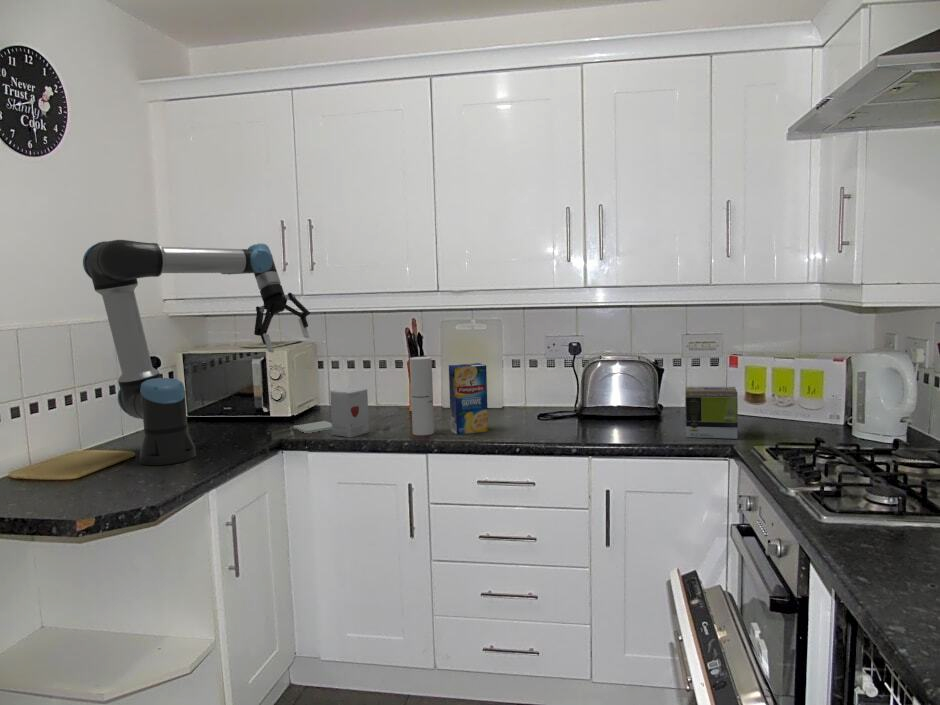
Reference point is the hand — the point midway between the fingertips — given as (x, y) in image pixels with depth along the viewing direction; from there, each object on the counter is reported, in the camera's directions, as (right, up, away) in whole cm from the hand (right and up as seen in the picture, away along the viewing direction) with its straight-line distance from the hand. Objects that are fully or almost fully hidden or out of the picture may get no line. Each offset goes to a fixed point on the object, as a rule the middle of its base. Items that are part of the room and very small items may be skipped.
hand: (288, 344), depth 230 cm
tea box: (+136, -29, -19) cm, 140 cm away
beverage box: (+61, -29, -3) cm, 68 cm away
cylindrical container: (+46, -30, -4) cm, 55 cm away
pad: (+7, -29, +7) cm, 31 cm away
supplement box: (+21, -30, -2) cm, 37 cm away
